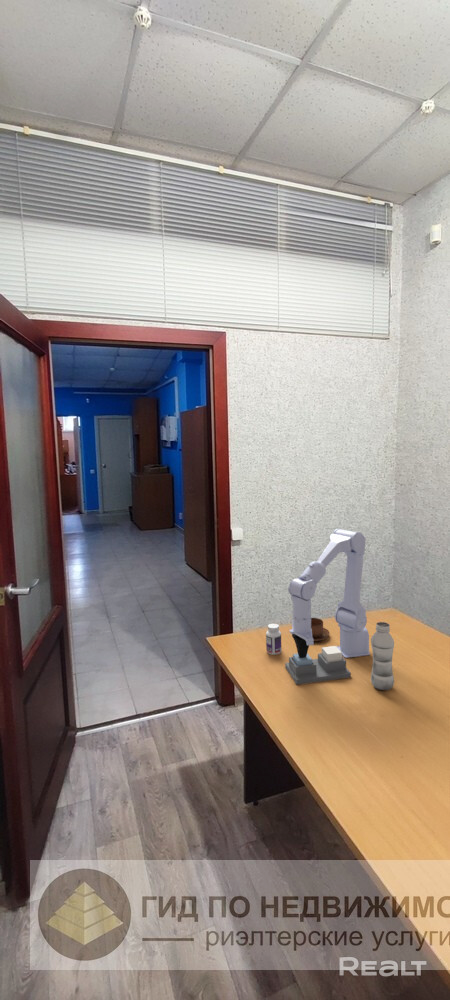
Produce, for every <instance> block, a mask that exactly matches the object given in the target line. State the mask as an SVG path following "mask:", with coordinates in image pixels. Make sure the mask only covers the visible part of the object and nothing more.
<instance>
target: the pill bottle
mask: <svg viewBox="0 0 450 1000" xmlns="http://www.w3.org/2000/svg"><path fill="white" fill-rule="evenodd" d="M265 641H266V642H265V643H266V644H265V648H266V649H265V650H266V653H267V654H269V655H273V656H274V655H275V656H276V655H279V654H281V653H282V651H283V650H282V649H283V648H282V633H281V631H280V625H279V624H278V623H269V624H268V625H267V631H266V632H265Z"/></svg>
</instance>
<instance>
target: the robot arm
mask: <svg viewBox="0 0 450 1000" xmlns="http://www.w3.org/2000/svg"><path fill="white" fill-rule="evenodd" d="M366 541H367V537H365V535H364V534H363V533H362V532H360V531H353V530H346V529H342V528H336V529H334V531H333V532H332V533H331V534H330V536H329V543H328V544H327V545H326V547H325V548H324V550H323V552H322V554H320V555H319V557H318V559H317V561H316V560H314V561H313V560H312V561H311V562H309V564H308V566H307V567H306V568H305V570H303V572H301V574H300V575H299V576H298V577H296V578H294V579H292V580H291V581H290V582H289V586H288V588H287V590H288V593H289V595H290V598H291V601H292V620H291V627H292V628H291V629H289V633H290V635H291V637H292V638H293V641H294V644H295V646H296V651H297V653H298V655H299V657H300V658H304V657H306V656H307V653H308V651H309V647H310V646H314V642H315V641H314V639H313V638H312V629H311V618H312V598H313V597H314V596H315V593H316V589H318V588H317V587H318V584H319V582H320V581H321V580H322V578H323V577H324V576H325V575H326V574H327V569H326V567H328V566H329V565H330V564H331V563H332V562H333V560H335V558H336V557H338V555H339V554H341V553H343V554H345V555H346V569H345V570H346V571H345V581H344V592H343V599H342V600H341V601H340V602H338V603H337V605H336V606H337V608H336V610H335V612H334V613H335V614H334V621H335V622H336V623H337V626H338V627H339V645H338V646H337V645H335V646H336V647H337V648H338V649H339V650H340V651H341V652H342V657H343V658H344V659H345V658H346V659H348V658H356V657H363V656H364V657H365V656H370V655H371V652H370V635H369V631H368V629H367V627H366V626H367V622H368V618H367V613H366V612H367V609H366V607H364V605H363V604H362V602H361V600H360V599H361V589H362V579H363V567H364V555H365V550H366Z"/></svg>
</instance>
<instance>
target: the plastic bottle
mask: <svg viewBox="0 0 450 1000" xmlns="http://www.w3.org/2000/svg"><path fill="white" fill-rule="evenodd" d="M375 625H376V627H375V630H376V631H375V632H374V633H373V635H372V636H371V639H370V644H371V650H372V651H371V652H372V667H371V668H372V669H371V672H370V682H371V684H372V686H373V687H374V688H375V689H377V690H380V691H389V690H391V689H392V688H393V687H394V684H395V677H394V671H393V655H394V654H393V653H394V648H395V640H394V637H392V635H391V633H390V632H391V629H390V627H391V626H390V624H389V623H388V622H385V621H379V622H377V623H376V624H375Z"/></svg>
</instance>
